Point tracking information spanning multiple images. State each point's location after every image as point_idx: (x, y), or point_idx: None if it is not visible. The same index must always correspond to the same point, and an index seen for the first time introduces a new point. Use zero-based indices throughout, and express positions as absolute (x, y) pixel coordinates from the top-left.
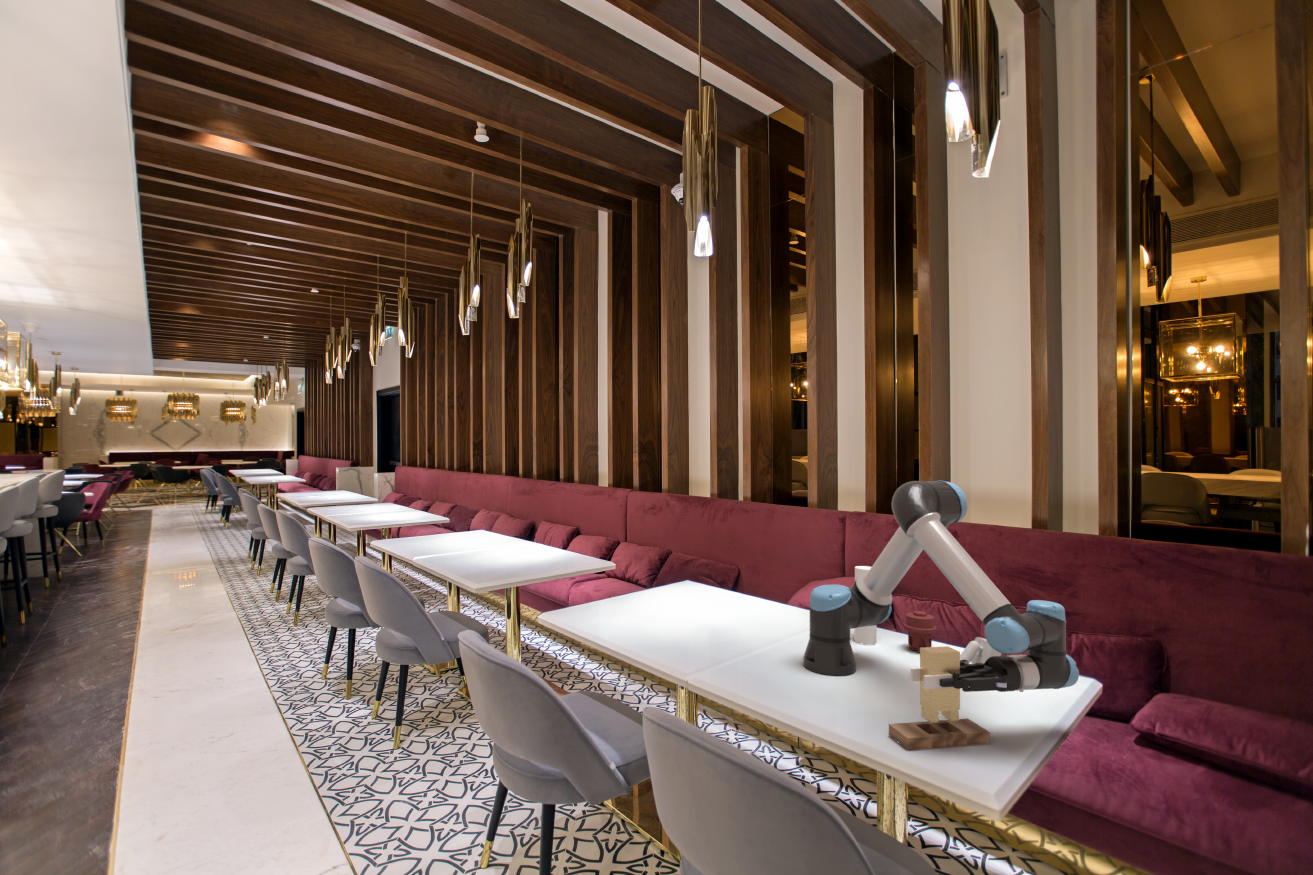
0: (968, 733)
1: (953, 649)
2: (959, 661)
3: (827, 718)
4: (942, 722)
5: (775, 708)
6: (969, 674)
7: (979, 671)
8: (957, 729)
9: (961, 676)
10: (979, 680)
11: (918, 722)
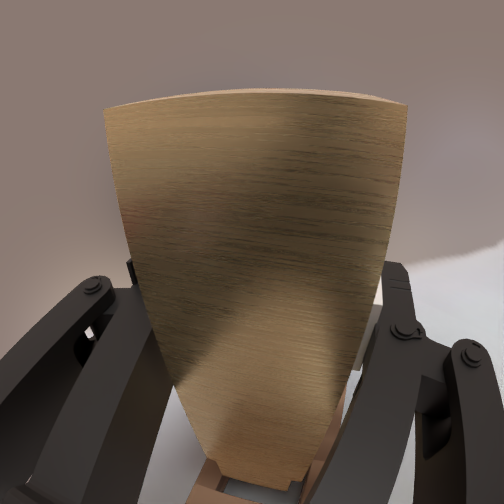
0: (192, 490)
1: (214, 94)
2: (129, 232)
3: (438, 297)
4: (307, 488)
5: (467, 258)
6: (91, 399)
7: (20, 495)
8: (245, 500)
9: (127, 310)
10: (19, 346)
11: (338, 412)
